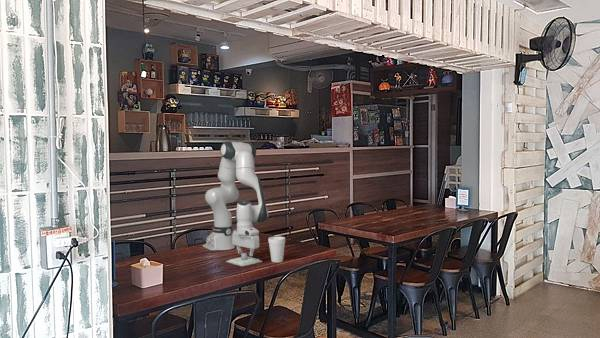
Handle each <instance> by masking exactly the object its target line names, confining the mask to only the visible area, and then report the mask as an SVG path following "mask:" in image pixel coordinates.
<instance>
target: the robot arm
mask: <svg viewBox="0 0 600 338" xmlns="http://www.w3.org/2000/svg"><path fill="white" fill-rule="evenodd" d="M220 155H221V159H220V162H219V166H218V167H219V169H218V172H217V178H218V180H219V181H220V186H219V187H213V188H210V189H208V190H207V191H206V192H205V195H204V199H205V202H206V203H207V204H208V205H209V206H210V208H211V210H212V213H213V214H212V215H213V226H212V227H211V229H212V232H211V233H210V234H208V236H206V242H205V243H204V244H202V248H205V249H207V250H210V251H228V250H229V251H230V250H232V249H235V248H236V250H237V253H238V254H239V255H241V253H243V250H242V247H243V248H246V249H249V253H248V257H253V256H254V252H255V250H257V249H259V248H260V236H259V234H260V231H259V229H257V228H255V227H254V225H253V223H263V224H264V223H265V222H266V221H267V220H268V218H269V210H268V207H267V204H266V200H265V194H264V188H263V185H262V180H261V178H260V177H258V176H257V174H256V171H255V170H256V169H255V168H256V166H255V158H256V156H257V148H256V146H255V145H254V144H252V143H247V142H242V141H238V142H237V141H225V142H224V141H223V143H222V144H221V146H220ZM236 179H237V181H238V182H239V183H240V184H242V185H244V186H247V187H250V188H252V189H254V190H255V192H256V197H257V201H258V204H254V205H252V203H251V201H249V200H241V201H238V199H239V197H240V193H239V192H240V191H239V189H238V188H237V186H236ZM235 201H238V202H237V205H236V209H235V210H234V215H235V220H236V228H233V221H232V219H233V218H232V217H233V216H232V215H233V214H232V212H231V211H230V210H228V208H227V204H231V203H233V202H235Z"/></svg>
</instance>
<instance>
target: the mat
mask: <svg viewBox="0 0 600 338" xmlns="http://www.w3.org/2000/svg"><path fill="white" fill-rule="evenodd" d="M229 260H230V259H228V260H225V262H226V263H229V264H232V265H235V266H240V267H246V266H250V265H255V264H260V263H263V260H261V259H259V261H256V262H252V263H248V264H244V265H241V264H238V263H234V262H231V261H229Z"/></svg>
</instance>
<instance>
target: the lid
mask: <svg viewBox="0 0 600 338" xmlns="http://www.w3.org/2000/svg"><path fill="white" fill-rule="evenodd" d="M240 255H241V256H240V257H235V258H231V259H228V260H229V261H231V262H234V263H238V264H241V265H244V264H248V263H252V262H256V261H259V260H260V259H259V258H255V257H253V256H249V255H248V253H247V252H242V253H241V254H240Z"/></svg>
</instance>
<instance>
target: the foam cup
mask: <svg viewBox="0 0 600 338" xmlns="http://www.w3.org/2000/svg"><path fill="white" fill-rule="evenodd" d="M267 241H268V246H269V253H270V259H271V262H272V263H282V262H283V261H284V254H285V245H286V237H285V236H270V237H268V239H267Z"/></svg>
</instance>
